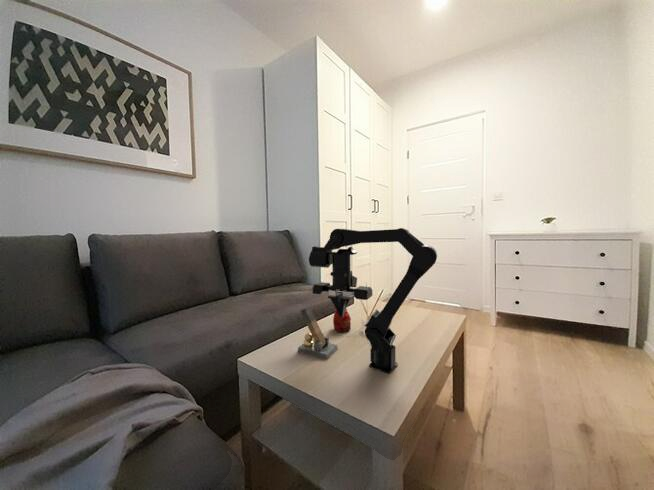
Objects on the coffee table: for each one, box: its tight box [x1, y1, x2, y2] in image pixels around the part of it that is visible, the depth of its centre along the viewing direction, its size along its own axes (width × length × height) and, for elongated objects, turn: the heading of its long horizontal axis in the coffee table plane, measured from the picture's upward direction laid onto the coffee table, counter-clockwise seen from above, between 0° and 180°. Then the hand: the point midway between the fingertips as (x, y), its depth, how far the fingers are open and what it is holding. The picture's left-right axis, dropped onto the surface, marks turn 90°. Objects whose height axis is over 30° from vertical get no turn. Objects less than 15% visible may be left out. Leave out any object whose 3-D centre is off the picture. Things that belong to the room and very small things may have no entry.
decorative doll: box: [332, 308, 352, 333], centre depth 103 cm, size 8×7×15 cm
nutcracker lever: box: [300, 306, 326, 347], centre depth 85 cm, size 2×3×14 cm, turn 152°
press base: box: [297, 332, 338, 360], centre depth 85 cm, size 11×8×5 cm
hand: (341, 317), depth 80 cm, fingers closed
